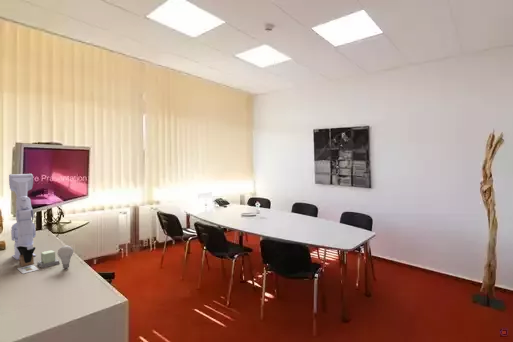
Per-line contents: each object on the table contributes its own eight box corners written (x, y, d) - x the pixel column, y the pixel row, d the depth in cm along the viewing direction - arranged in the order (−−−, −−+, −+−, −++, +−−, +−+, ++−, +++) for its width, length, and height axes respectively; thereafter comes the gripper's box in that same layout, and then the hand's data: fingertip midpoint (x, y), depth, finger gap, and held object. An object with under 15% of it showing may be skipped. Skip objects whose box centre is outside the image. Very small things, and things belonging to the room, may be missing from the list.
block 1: (19, 264, 138) (19, 255, 138) (30, 261, 141) (30, 252, 141) (22, 266, 135) (21, 257, 135) (33, 263, 139) (33, 254, 138)
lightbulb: (66, 271, 128) (65, 248, 128) (54, 271, 129) (53, 247, 129) (77, 266, 134) (76, 244, 134) (66, 266, 135) (65, 243, 135)
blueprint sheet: (16, 268, 132) (16, 268, 132) (32, 264, 137) (32, 264, 137) (22, 273, 126) (22, 273, 126) (39, 269, 131) (39, 269, 131)
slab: (37, 264, 137) (37, 261, 137) (54, 260, 143) (54, 257, 143) (42, 268, 133) (42, 264, 133) (59, 263, 138) (59, 260, 138)
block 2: (41, 261, 137) (41, 252, 137) (52, 258, 141) (51, 250, 141) (44, 263, 135) (44, 254, 134) (55, 260, 138) (55, 251, 138)
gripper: (11, 233, 139) (12, 260, 139) (19, 238, 130) (20, 267, 131) (29, 230, 145) (29, 256, 145) (37, 234, 136) (38, 262, 136)
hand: (26, 261), depth 138 cm, fingers closed on block 1, 4 cm apart
